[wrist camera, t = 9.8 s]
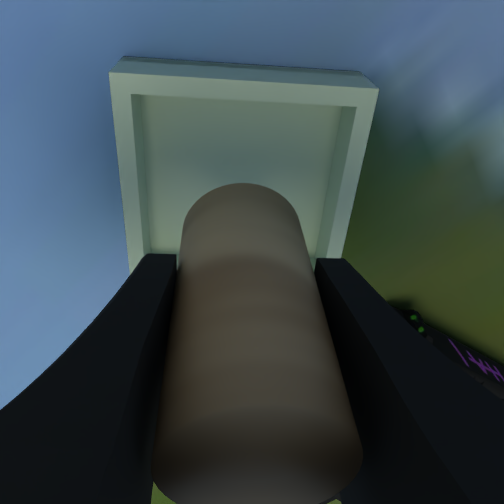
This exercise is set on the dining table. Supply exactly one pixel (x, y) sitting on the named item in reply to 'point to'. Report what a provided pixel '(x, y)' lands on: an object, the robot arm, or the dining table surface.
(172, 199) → the tray
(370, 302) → the robot arm
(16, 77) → the dining table surface
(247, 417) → the dowel
